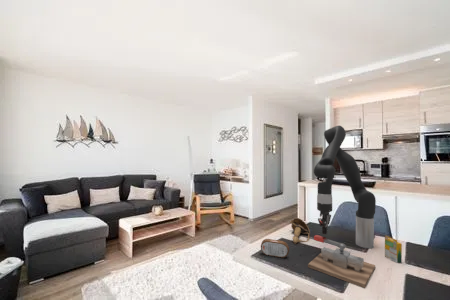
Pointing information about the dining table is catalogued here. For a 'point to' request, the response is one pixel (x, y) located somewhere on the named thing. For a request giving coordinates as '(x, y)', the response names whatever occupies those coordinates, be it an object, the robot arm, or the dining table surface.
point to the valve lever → (330, 242)
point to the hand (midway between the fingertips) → (324, 233)
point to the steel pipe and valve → (342, 258)
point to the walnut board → (343, 271)
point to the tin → (275, 248)
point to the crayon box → (393, 249)
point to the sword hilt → (299, 229)
